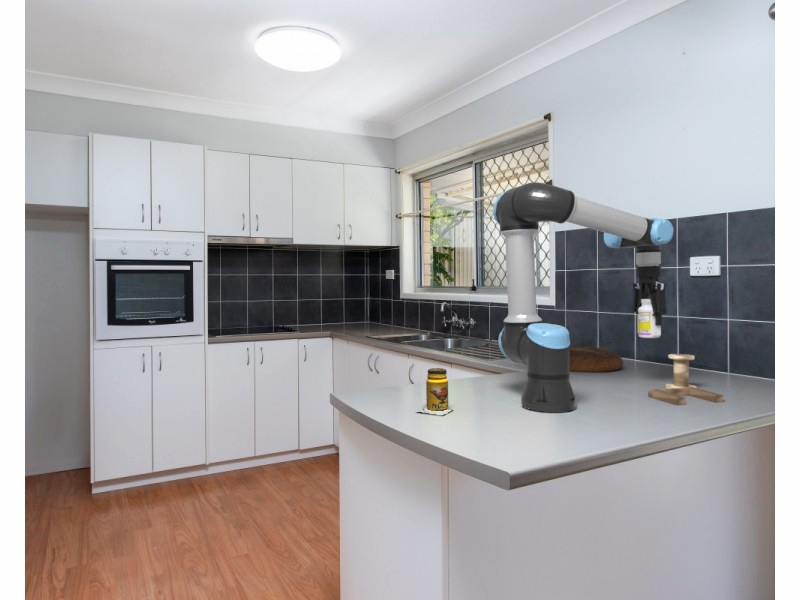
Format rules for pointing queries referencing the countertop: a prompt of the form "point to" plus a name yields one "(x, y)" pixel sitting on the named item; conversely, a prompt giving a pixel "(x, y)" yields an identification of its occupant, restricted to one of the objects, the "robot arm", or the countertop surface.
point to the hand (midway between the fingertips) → (649, 334)
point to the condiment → (437, 389)
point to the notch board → (676, 395)
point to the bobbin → (680, 371)
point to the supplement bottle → (645, 319)
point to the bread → (593, 360)
